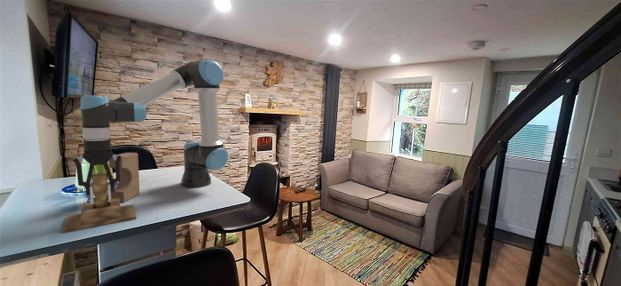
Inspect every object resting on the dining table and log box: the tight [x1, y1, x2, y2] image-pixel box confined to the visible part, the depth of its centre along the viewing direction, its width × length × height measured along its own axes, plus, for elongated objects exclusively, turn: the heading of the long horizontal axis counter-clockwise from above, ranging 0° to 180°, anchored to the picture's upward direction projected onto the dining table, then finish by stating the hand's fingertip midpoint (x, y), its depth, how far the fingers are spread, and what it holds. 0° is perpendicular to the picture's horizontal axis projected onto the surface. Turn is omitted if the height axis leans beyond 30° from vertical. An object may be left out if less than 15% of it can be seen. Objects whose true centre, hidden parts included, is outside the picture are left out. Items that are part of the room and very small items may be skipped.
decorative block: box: [108, 152, 140, 204], centre depth 115 cm, size 11×6×20 cm, turn 179°
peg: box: [91, 172, 109, 208], centre depth 94 cm, size 4×4×12 cm
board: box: [62, 198, 137, 234], centre depth 95 cm, size 20×14×5 cm
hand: (101, 201), depth 95 cm, fingers closed on peg, 4 cm apart
